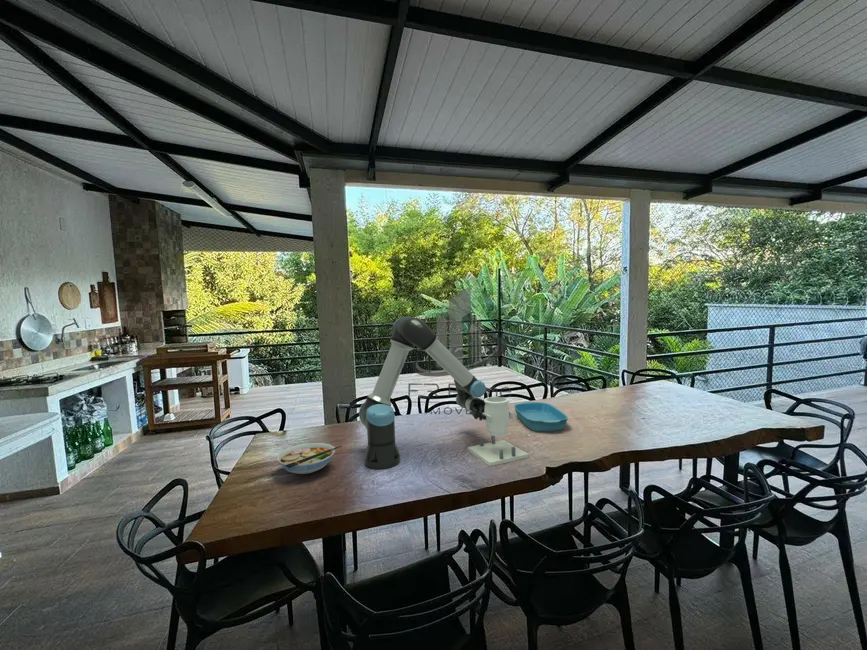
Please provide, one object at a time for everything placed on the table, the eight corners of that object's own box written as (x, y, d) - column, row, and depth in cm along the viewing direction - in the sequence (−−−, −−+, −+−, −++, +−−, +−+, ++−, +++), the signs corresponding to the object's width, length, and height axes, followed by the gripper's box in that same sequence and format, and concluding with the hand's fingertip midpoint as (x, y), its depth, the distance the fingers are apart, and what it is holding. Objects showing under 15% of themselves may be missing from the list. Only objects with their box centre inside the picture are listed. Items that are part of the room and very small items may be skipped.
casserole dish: (574, 433, 191) (574, 419, 191) (531, 436, 189) (531, 422, 189) (546, 412, 228) (546, 400, 227) (509, 414, 226) (509, 402, 225)
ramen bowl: (317, 454, 175) (316, 436, 175) (349, 466, 161) (348, 447, 160) (264, 474, 156) (263, 454, 155) (295, 490, 141) (293, 468, 141)
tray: (489, 466, 156) (489, 454, 156) (467, 450, 173) (467, 439, 173) (528, 457, 163) (528, 446, 163) (503, 442, 181) (503, 432, 180)
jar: (483, 436, 164) (482, 402, 163) (486, 428, 174) (485, 396, 173) (509, 437, 162) (508, 402, 161) (510, 429, 172) (509, 396, 171)
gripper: (496, 409, 189) (524, 422, 168) (455, 417, 180) (478, 430, 159) (496, 394, 188) (523, 405, 168) (454, 401, 179) (478, 413, 159)
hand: (501, 417), depth 164 cm, fingers closed on jar, 10 cm apart
